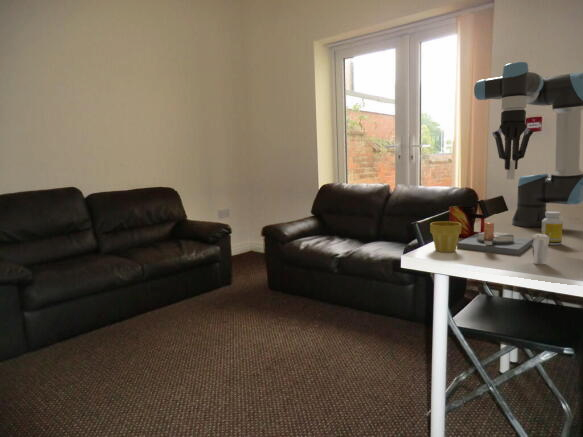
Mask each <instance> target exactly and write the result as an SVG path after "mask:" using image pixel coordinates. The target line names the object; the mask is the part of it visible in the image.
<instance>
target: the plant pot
mask: <svg viewBox="0 0 583 437" xmlns="http://www.w3.org/2000/svg"><path fill="white" fill-rule="evenodd" d="M429 231H430V232H429V233H430V234H431V235H432V239H433V244H434V249H435V251H436V252H439V253H446V254H447V253H455V252H456V250H457V243H458V242H459V239H460V238H459V234H461V223H458V222H449V220H447V221H433V222H430V224H429Z"/></svg>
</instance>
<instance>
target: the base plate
mask: <svg viewBox="0 0 583 437" xmlns="http://www.w3.org/2000/svg"><path fill="white" fill-rule="evenodd" d="M531 246H532V238H521V237H514V242H513V243H509V244H493V245H486V244H484V242H480V241H478V240H477V234H475V235H472V236H470V237H468V238H463V239H462V240H460V241H458V242H457V247H456V249H460V250H468V251H469V250H470V251H478V252H486V253H496V254H504V255H512V256H513V255H514V256H519V255H521V254H522V253H523V252H525V251H526V250H527V249H528V248H530V247H531Z"/></svg>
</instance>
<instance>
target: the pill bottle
mask: <svg viewBox="0 0 583 437" xmlns="http://www.w3.org/2000/svg"><path fill="white" fill-rule="evenodd" d="M545 216H546V218H545V219H543V220H542V227H541V233H540V234H545V235H547V236H549V234H550V233H551V234H550V236H549V244H548V246H549V245H552V246H557V245H558V246H559V245H561V244H562V240H563V239H562V238H563V224H564V222H563V220H562V219H561V218H560V217H561V212H559V211H547V212H545Z"/></svg>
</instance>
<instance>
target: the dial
mask: <svg viewBox="0 0 583 437" xmlns="http://www.w3.org/2000/svg"><path fill="white" fill-rule="evenodd" d="M494 230H495V223H494V222H484V232H483V233H478V234H477V240H478V241H480V242H484V244H486V245H493V244H509V243H513V242H514V238H515V235H514V234H510V233H507V232H505V233H504V232H498V231H497V232H496V231H494Z"/></svg>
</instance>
